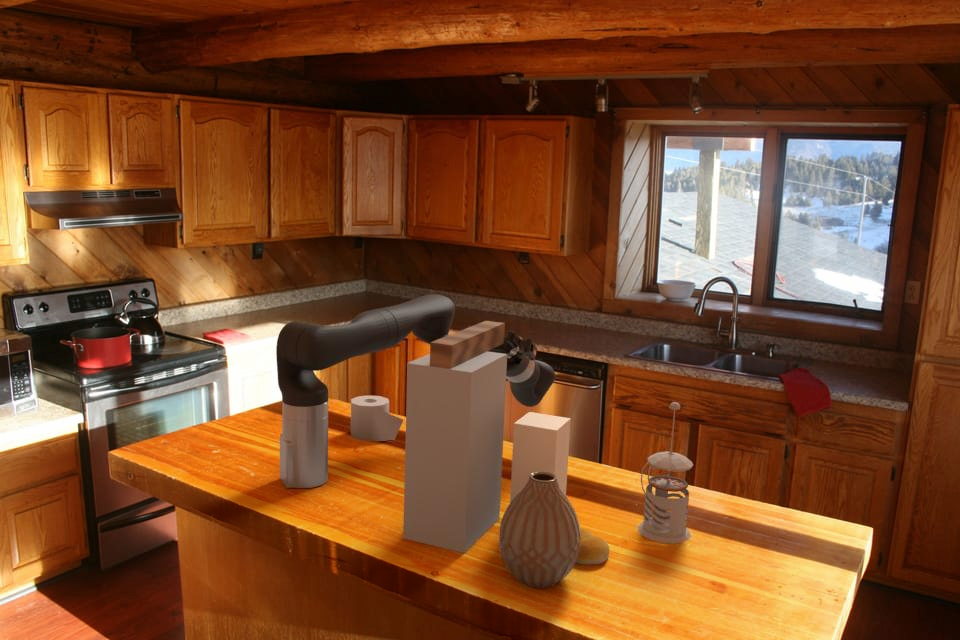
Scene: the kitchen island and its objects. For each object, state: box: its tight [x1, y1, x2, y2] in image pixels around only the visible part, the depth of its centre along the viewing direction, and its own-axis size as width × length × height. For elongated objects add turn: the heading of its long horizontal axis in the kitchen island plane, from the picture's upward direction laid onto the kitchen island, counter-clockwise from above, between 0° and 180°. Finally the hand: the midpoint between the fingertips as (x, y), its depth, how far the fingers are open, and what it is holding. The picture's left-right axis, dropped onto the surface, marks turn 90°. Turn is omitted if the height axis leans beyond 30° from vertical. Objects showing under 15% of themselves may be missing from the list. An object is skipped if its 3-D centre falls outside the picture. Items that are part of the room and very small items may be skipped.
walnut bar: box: [429, 320, 506, 369], centre depth 147 cm, size 24×4×4 cm, turn 157°
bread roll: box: [575, 528, 610, 566], centre depth 141 cm, size 8×9×4 cm
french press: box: [637, 401, 694, 544], centre depth 150 cm, size 10×12×25 cm
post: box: [509, 411, 572, 504], centre depth 148 cm, size 8×8×21 cm
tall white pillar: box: [402, 351, 507, 554], centre depth 146 cm, size 16×12×32 cm
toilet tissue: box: [350, 395, 404, 442], centre depth 199 cm, size 9×13×9 cm
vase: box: [498, 471, 581, 589], centre depth 131 cm, size 13×13×18 cm
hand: (488, 332), depth 155 cm, fingers open, 8 cm apart
